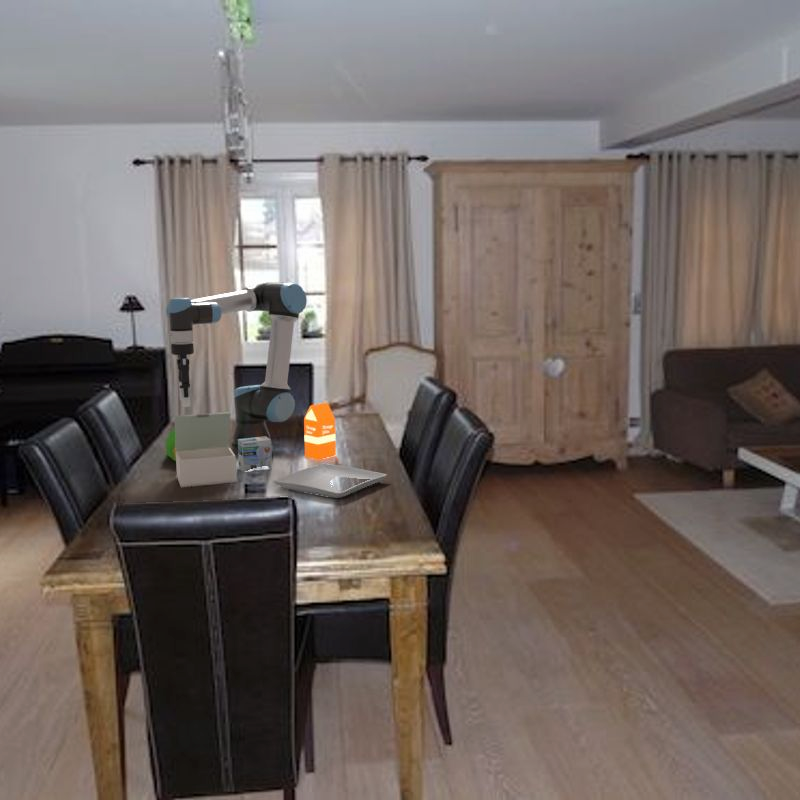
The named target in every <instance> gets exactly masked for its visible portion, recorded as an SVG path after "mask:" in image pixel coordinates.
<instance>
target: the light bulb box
mask: <svg viewBox="0 0 800 800" xmlns="http://www.w3.org/2000/svg"><path fill="white" fill-rule="evenodd" d="M237 453H238V454H237V457H238V469H239V468H240V469H241V470H242V471H241V470H240V469H239V470H240V471H241V472H243V473H246V472H245V471H248V470H250V469H253V468H257V467H262V466H268V467H269V468H270V469H269V470H273V467H272V466H273V463H272V462H273V461H272V459H273V458H272V455H273V454H272V439H271V438H270V439H269V438H267V437H266V436H264V437H255V438H246V439H238V445H237Z"/></svg>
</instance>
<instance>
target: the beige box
mask: <svg viewBox="0 0 800 800" xmlns="http://www.w3.org/2000/svg"><path fill="white" fill-rule="evenodd" d="M175 463H176V464H175V465H176V478H177V480H178V483H179V486H180V488H182V489H183V488H191V486H192V487H201V486H203V487H204V486H209V485H210V486H212V485H221V484H229V483H230V484H231V483H232V484H233V483H237V458H236V455H235V453H234V451H233V450H232V449H231V447H230V446H225V447H213V448H201V449H196V450H184V451H176V462H175Z"/></svg>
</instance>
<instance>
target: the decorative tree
mask: <svg viewBox="0 0 800 800" xmlns="http://www.w3.org/2000/svg"><path fill="white" fill-rule="evenodd" d="M165 441H166V444H165V446H166V448H165V449H166V455H167V457H170V458H171V459H172V460H173V461H174V462H175V461H176V450H175V428H174V429H173V430H172V431H171V432H170V433H169V436H168V437H167V438H166V440H165ZM189 450H196V449H189ZM177 451H184V450H177Z"/></svg>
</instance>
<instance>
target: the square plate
mask: <svg viewBox="0 0 800 800" xmlns="http://www.w3.org/2000/svg"><path fill="white" fill-rule="evenodd" d="M336 476H337V477H347V478H348V477H349V478H357V479H370V480H367V481H365V482H362V483H360V484H358V485H355V486H353V487H351V488H349V489H347V490H345V491H343V492H341V493H339V492H338V491H337V490H336V489H335V488H334V486H333V485H331V484H332V483H331V482H330V481H331V480H332V479H333V478H335V477H336ZM387 476H388V474H387V473H382V472H377V471H372V470H368V469H367V470H366V469H361V468H358V467H357V468H356V467H353V466H352V467H351V466H345V465H340V464H339V465H337V464H331V463H319V464H317V465H312V466H310V467H306V468H304V469H301V470H298V471H295V472H291V473H290V474H287V475H284V476H281V477H279V478H276V479H273V480H272V482H273V483H275V485H277V486H279V487H281V488H283V489H287V490H292V491H294V492H298V491H299V493H303V492H306V493H305V494H308V493H312V494H311V495H314V494H318V495H317V496H319V495H323V496H322V497H324V496H328V497H327V498H330V497H334V499H335V498H336V499H341V498H344V497H346V495H347V496H349V495H351V494H350V493H352V494H354V493H356V492H358V490H359V491H361V490H363V489H362V488H364V489H366V488H368V487H367V486H369V487H371V486H373V485H372V484H374V485H376V484H378V483H379V481H380V482H382V481H383V480H384V479H385V478H386V477H387ZM381 480H382V481H381ZM377 482H378V483H377ZM330 483H331V484H330ZM375 483H376V484H375ZM370 485H371V486H370ZM331 486H332V487H331ZM365 487H366V488H365ZM360 489H361V490H360ZM355 491H356V492H355ZM353 492H354V493H353ZM348 494H349V495H348ZM343 496H344V497H343Z"/></svg>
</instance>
